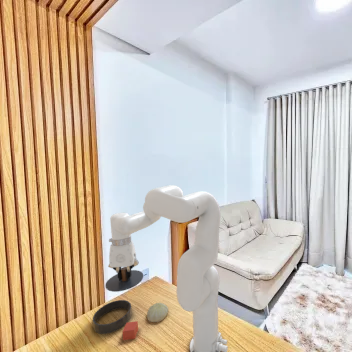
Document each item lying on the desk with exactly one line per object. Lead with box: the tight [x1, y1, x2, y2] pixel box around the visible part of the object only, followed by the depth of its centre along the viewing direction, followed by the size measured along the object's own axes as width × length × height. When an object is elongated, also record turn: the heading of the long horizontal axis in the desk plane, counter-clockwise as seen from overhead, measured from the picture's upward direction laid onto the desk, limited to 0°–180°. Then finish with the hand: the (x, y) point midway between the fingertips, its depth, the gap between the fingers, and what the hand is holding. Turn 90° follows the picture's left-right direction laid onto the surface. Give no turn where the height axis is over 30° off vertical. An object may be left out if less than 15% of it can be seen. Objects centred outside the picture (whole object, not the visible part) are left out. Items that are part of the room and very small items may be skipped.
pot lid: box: [105, 266, 144, 293], centre depth 95 cm, size 15×15×7 cm
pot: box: [92, 299, 133, 335], centre depth 92 cm, size 15×15×4 cm
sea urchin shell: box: [146, 302, 169, 323], centre depth 94 cm, size 9×8×8 cm
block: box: [122, 320, 139, 341], centre depth 84 cm, size 4×4×4 cm
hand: (124, 278), depth 95 cm, fingers closed on pot lid, 2 cm apart
